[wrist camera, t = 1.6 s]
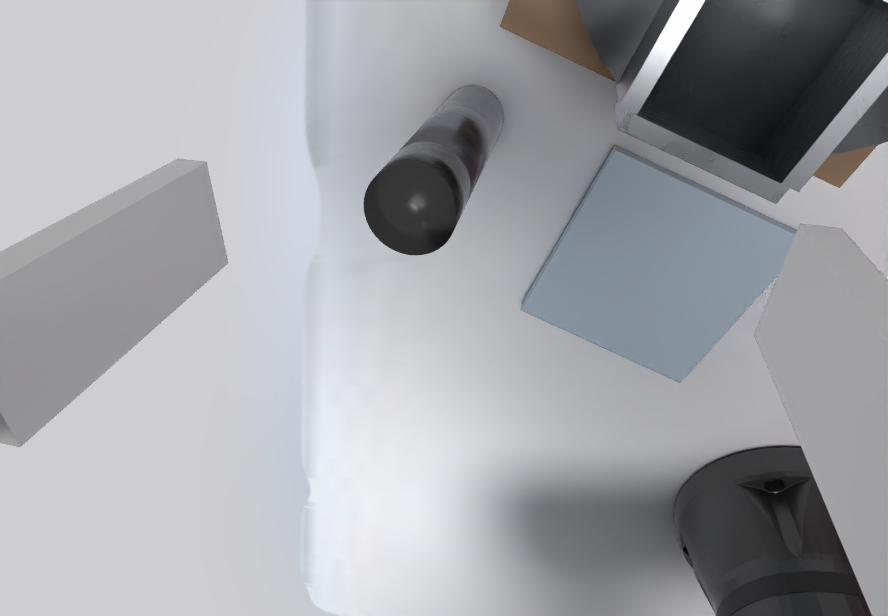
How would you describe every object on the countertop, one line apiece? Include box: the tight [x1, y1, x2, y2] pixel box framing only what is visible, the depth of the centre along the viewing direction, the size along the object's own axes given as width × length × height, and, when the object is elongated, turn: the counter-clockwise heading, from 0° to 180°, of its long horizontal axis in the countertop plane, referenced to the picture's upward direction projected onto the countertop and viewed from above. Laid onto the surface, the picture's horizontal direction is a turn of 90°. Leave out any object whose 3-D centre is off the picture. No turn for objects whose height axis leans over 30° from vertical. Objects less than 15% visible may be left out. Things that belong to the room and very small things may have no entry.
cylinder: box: [364, 85, 504, 255], centre depth 27 cm, size 4×4×14 cm
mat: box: [521, 145, 797, 383], centre depth 35 cm, size 12×12×1 cm
